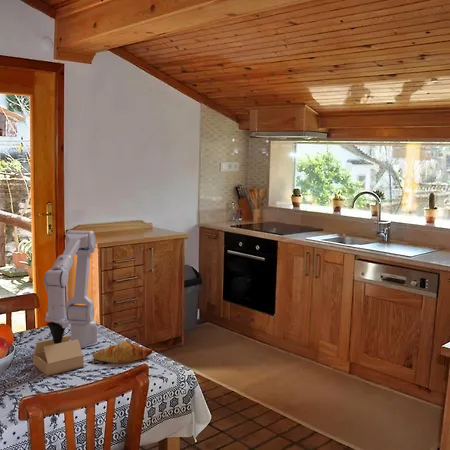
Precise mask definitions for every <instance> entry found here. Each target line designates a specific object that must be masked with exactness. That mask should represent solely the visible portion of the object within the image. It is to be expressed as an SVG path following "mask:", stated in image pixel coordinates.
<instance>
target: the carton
mask: <svg viewBox="0 0 450 450" xmlns="http://www.w3.org/2000/svg"><path fill="white" fill-rule="evenodd" d="M32 360H33V361H32V365H33V366H34V367H35V368H36V369H38V370H39V371H40V372H41V373H43V374H44V376H46V377H50V376H53V375H58V374H60V373H65V372H70V371H72V370H76V369H80V368H84V367H85V365H84V364H85V363H84V355H82V356H79V357H75V358H71V359H67V360H63V361H59V362H55V363H51V364H48V363H47V359H46V356H45V352H44V351H43V352H38V353H33V354H32Z"/></svg>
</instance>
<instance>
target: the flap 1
mask: <svg viewBox="0 0 450 450" xmlns="http://www.w3.org/2000/svg"><path fill="white" fill-rule="evenodd" d="M67 341H71V334H67V335H63V337H62V342H61V343H63V342H67ZM54 344H55V343H54V341H53V337H52V338H47V339H44V340H43V339H42V340H39V341H36V343H35V347H34V350H33V354H35V353H39V352H44V348H43V347H45V346H49V345H54Z"/></svg>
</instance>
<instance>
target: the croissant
mask: <svg viewBox="0 0 450 450" xmlns="http://www.w3.org/2000/svg"><path fill="white" fill-rule="evenodd" d="M152 354H153V349H152V348H146V347H145V346H139V345H138V344H135V343H132V342H131V341H130V340H129V341H128V340H123V341H121V342H119V343H116V344H112V345H109V346H107V347H106V348H101V349H100V350H98V351H96V352H93V353H92V358H93V359H94V360H97V361H100V362H104V363H105V362H106V363H111V364H126V363H131V362H134V361H140V360H142V359H145V358H147V357H149V356H150V355H152Z"/></svg>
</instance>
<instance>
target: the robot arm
mask: <svg viewBox="0 0 450 450" xmlns="http://www.w3.org/2000/svg"><path fill="white" fill-rule="evenodd" d="M96 240H97V238H96V234H95V232H94V230H72V229H69V230H68V231H67V232H66V234H65V244H66V245H65V248H64V250H63V253H62V254H60V255H58V256H57V258H56V259H55V261H54V263H53V265H52V267H51V268H50V269H48V270H47V271H45V274H44V278H43V284H44V286H45V291H46V293H47V311H46V312H45V318H44V321H45V322H47V324H46V325H47V327H48V329H49V331H50V333H51V337H52V338H53V341H54V343H55V344H58V343H61V342H62V337H63V336H64V333H65V331H66V328H70V329H69V330H70V334H71V338H70V341H72V340H76V339H78V340H79V344H80V347H81V349H82V348H87V347H92V346H95V345H98V344H99V342H98V327H97V323H96V321H95V319H94V318H95V303H94V301H93V299H91V298H90V297H88V291H89V289H88V288H89V287H88V286H89V278H90V277H89V275H90V261H91V254H93V253H95V249H96ZM75 255H76V264H75V265H76V266H75V276H74V277H75V278H74V289H73V290H74V293H73V297H71V298H70V299H69V300H67V301H66V286H67V284H68V283H69V282H68V280H69V275H70V274H69V273H70V271H71V269H72V267H73V265H74V260H73V258H74V257H75ZM70 334H69V335H70Z"/></svg>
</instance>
